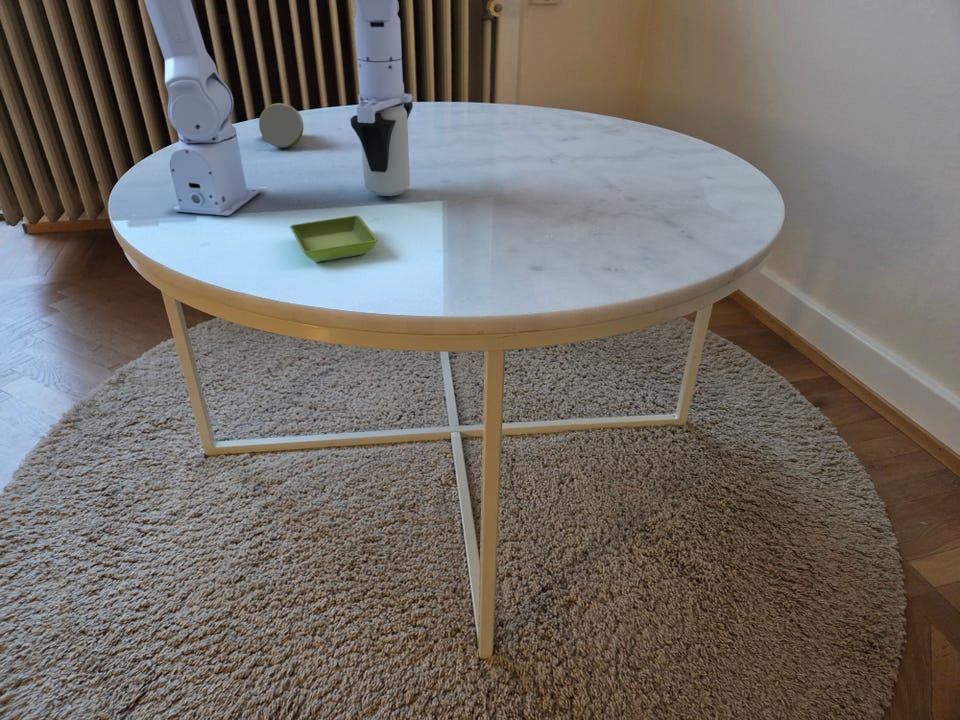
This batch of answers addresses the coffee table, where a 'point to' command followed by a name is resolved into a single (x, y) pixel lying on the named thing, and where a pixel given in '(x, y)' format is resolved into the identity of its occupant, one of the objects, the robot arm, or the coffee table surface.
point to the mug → (281, 125)
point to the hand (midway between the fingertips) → (385, 163)
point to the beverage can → (391, 157)
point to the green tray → (334, 238)
